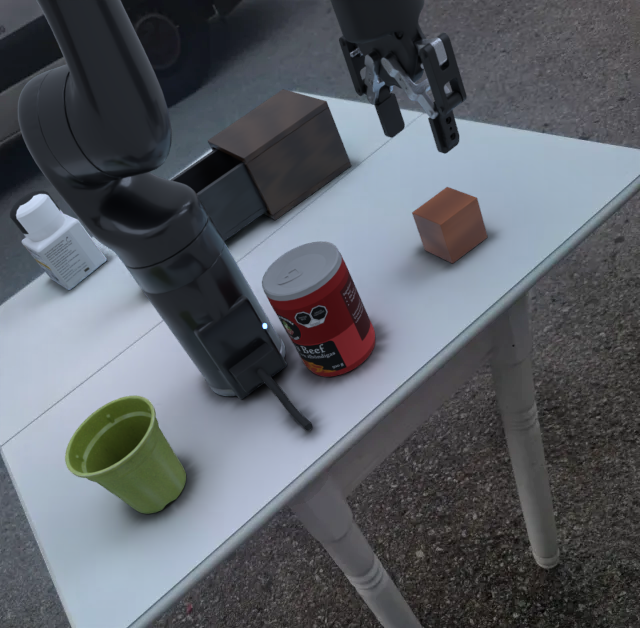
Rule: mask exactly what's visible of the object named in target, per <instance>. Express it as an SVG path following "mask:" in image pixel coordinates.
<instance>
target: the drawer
mask: <svg viewBox="0 0 640 628" xmlns="http://www.w3.org/2000/svg"><path fill="white" fill-rule="evenodd" d="M170 180H171V181H175V182H179V183H182V184H185V185H187V186H189V187H190V188H192V189H193V190H194V191H195V192H196V194H197V195H198V197H199V198H200V200H201V202H202V203H203V205H204V207H205V209H206V210H207V212H208V214H209V216H210V217H211V219H212V221H213V223H214V224H215V226H216V228H217V230H218V231H219V233H220V235H221V237H222V239H223V240H224V242H225V241H226V240H228V239H230V238H231V237H233V236H234V235H235V234H237V233H238V232H240V231H241V230H243V228H245V227H246V226H248V225H250V224H251V223H252V222H254V221H255V220H256V219H258V218H259V217H261V216H262V215H264V213H265V212H266V211H268V209H267V207H266V205H265V203H264V201H263V199H262V197H261V195H260V193H259V191H258V189H257V187H256V185H255V183H254V181H253V179H252V177H251V175H250V173H249V171H248V169H247V167H246V165H245V162H243V161H241V160H239V159H236V158H234V157H232V156H230V155H228V154H226V153H224V152H222V151H220V150H218V149H214V150H213V151H212V150H211V151H210V152H209V153H207V154H206V155H204V156H203V157H201V158H200V159H198V160H197V161H196V162H194V163H192V164H191V165H190V166H188V167H187V168H185V169H183V170H182V171H181V172H179V173H178V174H177V175H175V176H173V177H172V178H171V179H170Z"/></svg>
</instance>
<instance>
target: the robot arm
mask: <svg viewBox="0 0 640 628" xmlns="http://www.w3.org/2000/svg"><path fill="white" fill-rule="evenodd" d="M35 1H36V3H37V4H38V6H39V8H40V10H41V11H42V13H43V16H44V18H45V19H46V21H47V23H48V25H49V27H50V30H51V32H52V34H53V36H54V38H55V40H56V43H57V45H58V47H59V49H60V52H61V54H62V56H63V58H64V61H65V64H63V65H60V66H58V67H55V68H52V69H49V70H46V71H43V72H41V73H39V74H37V75H35V76H34V77H32V78H31V79H30V80H29V81H27V83H26V84H25V85H24V87H23V88H22V90H21V92H20V94H19V97H18V101H17V120H18V125H19V130H20V133H21V135H22V139H23V141H24V143H25V145H26V148H27V150H28V151H29V153H30V155H31V157H32V159H33V160H34V162H35V164H36V165H37V167H38V168H39V170H40V171H41V172H42V174H43V175H44V177H45V178H46V179H47V181H48V182H49V184H50V185H51V186H52V188H54V190H55V191H56V192H57V194H58V195H59V196H60V198H61V199H62V200H63V201H64V203H66V205H67V206H68V207H69V208H70V210H71V211H72V212H73V213H74V215H75V216H76V217H77V219H78V220H79V221H80V223H81V224H82V226H83V227H84V228H85V229H86V231H87V232H89V233H90V234H91V236H92V237H93V238H94V239H95V240H96V241H97V242H99V243H100V244H101V245H103V246H104V247H106V248H107V249H110V250H111V251H112V252H113V253H115V255H116V256H117V257H118V258H119V260H120V261H121V263H122V264H123V266H125V269H127V271H128V272H129V274H130V275H131V277H132V278H133V279H134V281H135V282H136V284H137V285H138V286H139V288H140V289H141V291H142V292H143V294H144V295H145V296H146V298H147V299H148V301H149V302H150V304H151V305H152V307H153V308H154V309H155V311H156V312H157V313H158V315H159V316H160V318H161V319H162V321H163V322H164V323H165V325H166V326H167V327H168V329H169V331H170V332H171V334H172V335H173V336H174V338H175V339H176V340H177V342H178V343H179V344H180V346H181V348H182V349H183V350H184V352H185V353H186V355H187V356H188V357H189V359H190V360H191V361H192V363H193V364H194V366H195V367H196V369H197V370H198V371H199V373H200V374H201V376H202V377H203V378H204V381H205V382H206V384H207V386H208V387H209V388H210V390H211V391H212V392H213V393H215V394H216V395H219V396H223V397H224V396H225V397H234V396H235V397H237V398H238V399H240V400H244V399H245V398H246V397H248V396H249V395H250V394H252V393H253V392H255V391H256V390H257V389H258V388H259V387H261V386H262V385H263V384H265V386H267V387H268V388H269V390H270V391H271V392H272V393H273V395H274V396H275V397H276V398H277V399H278V401H279V402H280V403H281V405H282V407H284V409H285V411H287V413H288V414H289V415H290V416H291V417H292V418H293V420H295V422H296V423H298V425H300V426H301V428H303V429H304V430H305V431H307V432H308V431H309V432H310V431H311V430H312V429H313V427H314V426H313V423H312V422H311V421H310V420H309V419H308V418H307V417H305V415H303V414H302V413H301V411H300V410H298V408H297V407H296V406H295V405H294V404H293V402H292V401H291V400H290V398H289V397H288V396H287V394H286V393H285V392H284V391H283V389H282V388H281V387H280V386H279V384H278V383H277V382H276V381H275V380H274V379H273V377H274V376H275V375H277V374H278V373H280V372H281V371H282V370H284V369H286V367H287V366H288V363H287V362H286V360H285V356H286V345H285V343H284V341H283V340H282V337H281V336H280V334H279V333H277V331H276V329H275V327H274V326H273V324H272V323H271V320H270V318H269V317H268V315H267V314H266V312H265V310H264V308H263V307H262V305H261V303H260V301H259V300H258V297H257V296H256V295H255V293H254V291H253V289H252V287H251V286H250V284H249V283H248V281H247V279H246V277H245V275H244V273H243V272H242V269H240V267H239V264H238V263H237V262H236V259H235V258H234V256H233V254H232V253H231V251H230V249H229V248H228V246H227V244H226V242H225V241H224V240H223V239H222V237H221V235H220V233H219V231H218V230H217V228H216V226H215V224H214V223H213V221H212V219H211V217H210V216H209V214H208V212H207V210H206V209H205V207H204V205H203V203H202V202H201V200H200V198H199V197H198V195H197V194H196V192H195V191H194V190H193V189H192V188H190V187H189V186H187V185H185V184H182V183H179V182H175V181H171V179H167V178H164V177H161V176H158V175H157V174H154V173H153V171H155V170H157V169H159V168H161V166H162V165H163V164H165V163H166V160H167V158H168V157H169V155H170V151H171V147H172V142H173V141H172V138H173V137H172V136H173V133H172V132H173V130H172V123H171V116H170V111H169V109H168V105H167V101H166V98H165V95H164V92H163V90H162V86H161V84H160V81H159V79H158V77H157V75H156V72H155V70H154V68H153V66H152V64H151V62H150V59H149V57H148V55H147V53H146V50H145V48H144V46H143V45H142V42H141V40H140V39H139V36H138V34H137V32H136V30H135V28H134V26H133V23H132V22H131V19H130V17H129V15H128V13H127V11H126V9H125V7H124V5H123V2H122V0H35ZM330 4H331V6H332V9H333V12H334V14H335V17H336V20H337V23H338V25H339V28H340V31H341V34H342V36H339V38H338V43H339V47H340V48H341V52H342V55H343V58H344V61H345V64H346V67H347V71H348V73H349V76H350V79H351V82H352V85H353V88H354V91H355V93H356V94H357V95H358V96H359V97H362V96H364V95H365V96H366V99H367V100H368V102H369V103H370V104H371V105H374V109H375V111H376V114H377V117H378V120H379V122H380V125H381V129H382V131H383V133H384V136H385V137H387V138H390V139H393V138H394V137H395V136H397V135H399V134H400V133H401V132H402V131H404V129H405V126H406V124H405V121H404V116H403V113H402V111H401V108H400V105H399V102H398V99H397V96H396V93H393V91H394V87H397V88H399V89H401V90H402V91H403V92H404V93H405V95H406V96H407V98H409V100H411V101H412V102H418V104H419V105H420V107H421V108H422V110H423V111H424V112H425V113H426V115H427V116H428V117H427V120H428V123H429V127H430V130H431V133H432V137H433V140H434V143H435V147H436V149H437V152H438V153H441V154H446V155H447V154H448V153H449V152H450V151H452V150H453V149H454V148H456V147H457V146H458V145H459V143H460V132H459V129H458V126H457V121H456V118H455V115H454V114H455V113H454V109H455V108H457V107H458V106H459V105H461V104H462V103H463V102H465V101H467V98H468V97H467V92H466V89H465V86H464V82H463V78H462V75H461V71H460V69H459V65H458V62H457V58H456V55H455V52H454V48H453V44H452V41H451V39H450V37H449V35H448V34H447V33H445V32H442V33H440V34H439V35H437V36H436V37H434V38H427V37H426V35H425V33H424V31H423V30H422V28H421V25H420V23H419V20H420V17H421V13H422V11H423V9H424V6H425V0H330ZM364 68H365V75H364V77H362V75H361V71H362V69H364ZM424 73H425V75H426V78H425V79H424V80H422V81H421V82H420V83H417V82H418V81H419V80H420V79H421V78H422V77H423V74H424ZM448 83H449V87H450V89H451V91H450V89H449V87H448V86H447V85H446V84H448ZM428 91H431V93H432V96H433V100H434V101H433V100H432V99H431V97H430V95H429V94H428V93H427V92H428Z"/></svg>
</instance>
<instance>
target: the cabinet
mask: <svg viewBox="0 0 640 628" xmlns="http://www.w3.org/2000/svg"><path fill="white" fill-rule="evenodd" d="M207 143H208V145H209V147H210V149H211V152H212V151H213V150H214V149H218V150H220V151H222V152H224V153H226V154H228V155H230V156H232V157H234V158H236V159H239V160H241V161H243V162H245V165H246V167H247V169H248V171H249V173H250V175H251V177H252V179H253V181H254V183H255V185H256V187H257V189H258V191H259V193H260V195H261V197H262V199H263V201H264V203H265V205H266V207H267V209H268V211H266V212H265V213H263V215H265V216H267V217H269V218H270V219H272V220H274V221H276V220H278V219H279V218H280V217H282V216H283V215H285V214H286V213H287V212H288V211H290V210H292V209H293V208H294V207H296V206H297V205H299V204H301V203H302V202H303V201H304V200H306V199H307V198H309V197H310V196H312V195H313V194H314V193H315V192H317V191H319V190H320V189H321V188H323V187H324V186H325V185H327V184H328V183H330V182H331V181H333V180H334V179H336V178H337V177H338V176H340V175H341V174H343V173H344V172H346V170H348V169H349V168H351V167H352V166H353V165H352V163H351V160H350V158H349V155H348V152H347V150H346V148H345V144H344V142H343V139H342V137H341V134H340V132H339V129H338V127H337V123H336V121H335V119H334V117H333V114H332V111H331V108H330V106H329V104H328V101H327V100H324V99H320V98H317V97H313V96H310V95H307V94H303V93H299V92H295V91H292V90H288V89H285V88H282V89H281V90H279V91H278V92H276V93H275V94H273V95H272V96H270V97H269V98H268V99H266V100H264V101H263V102H261V103H260V104H258V106H255V108H253V109H251V110H250V111H249V112H247V113H246V114H244V115H242V116H241V117H240V118H238V119H237V120H236V121H234V122H233V123H231V124H230V125H228V126H227V127H225V128H224V129H222V130H221V131H219V132H217V133H216V134H215V135H213V136H212V137H211V138H208V139H207Z"/></svg>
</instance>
